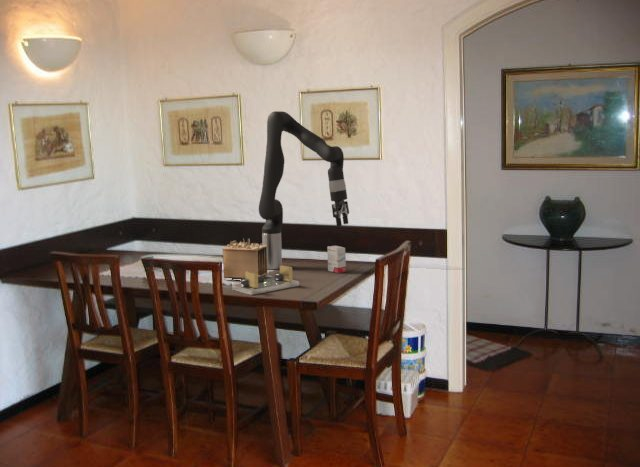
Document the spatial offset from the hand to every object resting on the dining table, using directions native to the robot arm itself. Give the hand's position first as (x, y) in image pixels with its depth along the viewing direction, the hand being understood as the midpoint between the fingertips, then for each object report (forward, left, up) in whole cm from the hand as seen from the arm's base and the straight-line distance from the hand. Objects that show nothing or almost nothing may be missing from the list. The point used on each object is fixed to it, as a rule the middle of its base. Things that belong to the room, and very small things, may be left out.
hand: (342, 225), depth 336 cm
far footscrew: (0, -35, -20) cm, 40 cm away
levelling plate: (-1, -44, -23) cm, 49 cm away
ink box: (-6, +1, -23) cm, 24 cm away
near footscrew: (0, -53, -20) cm, 56 cm away
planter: (-23, -39, -23) cm, 51 cm away
